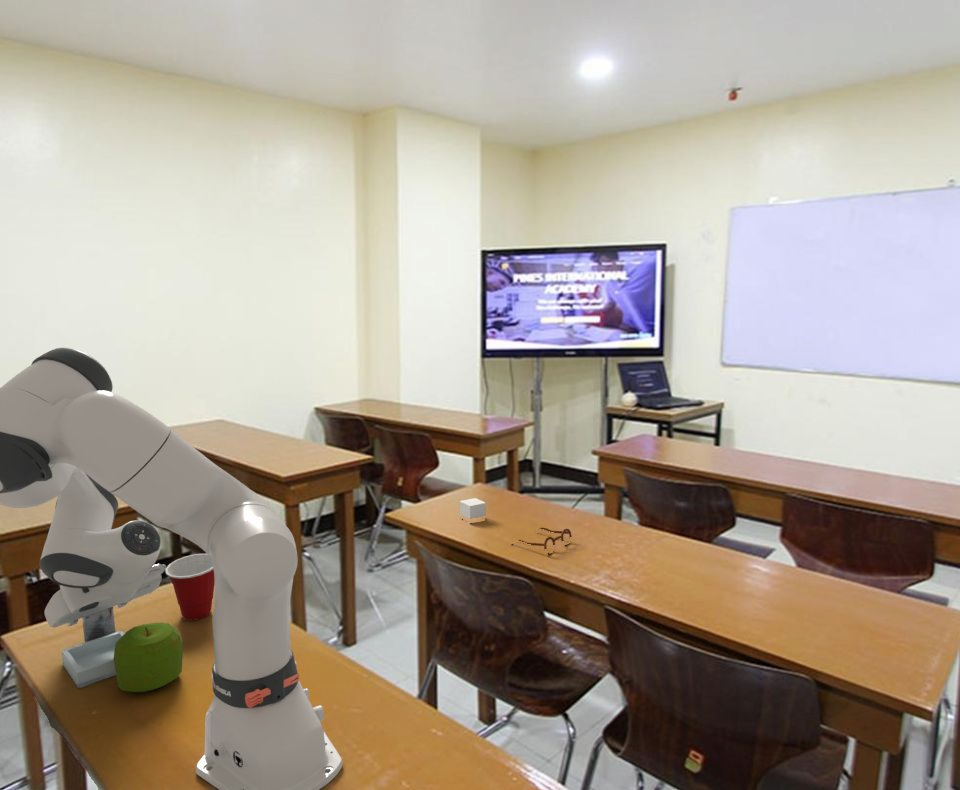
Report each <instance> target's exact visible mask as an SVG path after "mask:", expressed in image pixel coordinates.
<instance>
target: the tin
mask: <svg viewBox="0 0 960 790" xmlns="http://www.w3.org/2000/svg"><path fill="white" fill-rule="evenodd" d="M114 612H115V611H114V606H113V607H110V608H108V609H105V610H102V611H99V612H97V613H94V614H91V615H88V616H85V617H83V618H81V619H82V628H83V637H84V643H85V642H88V641H91V640H94V639H97V638H100V637H104V636H107V635H110V634H113V633H116V631H117V630H116V621H115V613H114Z"/></svg>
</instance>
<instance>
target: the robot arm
mask: <svg viewBox="0 0 960 790" xmlns="http://www.w3.org/2000/svg"><path fill="white" fill-rule="evenodd" d="M113 388H114V387H113V381H112V379H111V376H110V374H109V373H108V371H107V369H106V367H104V366H103V365H102V363H100V362H99V361H98V360H97V359H95V357H92V356H91V355H90V354H87V353H85V352H83V351H81V350H78V349H75V348H68V347H56V348H54V349H52V350H49V351H47V352H45V353H43V354H42V355H40V356H38V357H36V358H35V359H34V360H33V361H32V362H31V365H28V367H27V366H26V368H24V369H23V370H21V371H20V372H19V373H17V374H16V375H14V376H13V377H12V378H11V379H9V380H8V381H7V382H6V383H4V384H3V385H2V386H1V387H0V505H1V506H3V507H7V508H12V509H13V508H15V509H27V508H32V507H38V506H40V505H43V504H45V503H48V502H50V501H52V500H53V499H55V498H57V499H56V503H55V508H54V513H53V515H52V516H53V517H52V519H51V522H50V527H49V530H48V534H47V537H46V539H45V542H44V545H43V549H42V552H41V556H40V559H39V563H38V566H39V568H40V570H41V571H42V573H43V574H44V575H45V577H47V578H48V579H50V580H51V581H52V582H54V583H55V584H57V585H59V588H60V589H59V590H58V591H56V592H55V593H54V594H53V595H52V597H51V598H50V600H49V601H48V603H47V605H46V606H45V609H44V617H45V619H46V622H47V623H48V626H49V627H50V628H58V627H61V626H63V625H67V627H72V626H75V625H77V624H78V622H79V619H82V618H83V617H85V616H88V615H91V614H94V613H97V612H99V611H102V610H105V609H108V608H110V607H113V608H114V607H115V606H116V607H117V609H120V608H124V607H126V606H127V604H128V603H129V602H131V601H133V600H134V599H138V598H140V597H144V596H146V595H149V594H151V593H153V592H155V591H156V590H157V589H158V588H159V587H160V584H161V582H162V579H163V578H162V574H163V573H164V572H166V570H165V569H166V568H167V565H166V564H161V563H157V564H156V562H157V560H158V557H159V555H160V552H161V549H162V538H161V537H160V534H159V532H158V530H157V528H155V527H154V526H153V525H152V524H151V523H153V524H154V525H156V526H157V527H159V528H164V529H167V530H169V531H171V532H173V533H175V534H177V535H179V536H180V537H183V538H185V539H186V540H189V541H190V542H192V543H193V544H195V545H196V546H198V547H199V548H200V549H202V550H203V552H205V554H208V556H209V557H210V558H211V561H212V565H213V569H214V579H215V584H214V594H213V600H214V601H213V614H212V617H211V618H212V619H211V620H212V621H211V622H212V624H211V625H212V639H213V641H212V642H213V655H214V663H213V664H212V668H211V669H212V670H211V671H212V672H211V685H212V691H213V694H214V696H213V698H212V701H211V703H210V705H209V707H208V709H207V711H206V714H205V717H204V754H203V755H202V757H201V758H200V759H199V761H197V762H196V767H195V773H196V775H197V776H198V777H201V778H202V779H203V780H205V781H206V782H207V783H209V784H211V786H213V787H215V788H216V789H218V790H320V789H322V788H323V787H325V786H326V785H327V784H329V783H330V782H331V781H332V780H333V779H334V778H335V777H336V776H337V775H338V774H339V772H340V771H341V770H342V768H343V765H344V763H343V758H342V757H341V755H340V754H339V752H338V750H337V749H336V747H335V746H334V744H333V743H332V741H331V739H330V738H329V737H328V735H327V734H326V732H325V730H324V729H323V726H322V723H321V722H323V721H324V720H325V711H324V710H325V709H324V707H323V706H322V705H321V704H319V705H316V706H314V707H313V705H312V703H311V701H310V699H309V697H310V691H309V688H307V687H306V688H303V686H302V683H301V682H300V678H299V677H300V674H299V671H298V668H297V667H298V666H297V660H296V659H295V655H294V652H293V650H292V649H291V625H290V623H291V622H290V605H291V597H292V590H293V583H294V576H295V575H296V572H297V568H298V561H299V559H298V552H297V544H296V541H295V538H294V535H293V533H292V532H291V530H290V528H288V526H287V524H286V523H285V522H284V521H283V519H282V518H281V517H280V516H279V515H278V514H277V512H276V511H275V510H274V509H273V508H272V506H271V505H270V504H269V502H267V501H266V500H265V499H264V498H262V497H261V496H260V495H259V494H257V493H256V492H255V491H254V490H252V489H250V488H249V487H248V486H247V485H245V483H243V482H241V481H240V480H238V479H237V478H236V477H234V476H232V475H231V474H230V473H229V472H227V471H225V470H224V469H222V468H221V467H220V466H218V465H217V464H215V463H214V462H213V461H211V459H209V458H208V457H206V456H205V455H204V454H203V453H202V452H200V451H199V450H198V449H196V448H195V447H194V446H193V445H192V444H190V443H189V442H188V441H186V440H185V439H184V438H183V437H181V436H180V435H179V434H177V433H176V431H174V430H173V429H171V428H170V427H169V426H168V425H166V424H165V423H164V422H162V421H161V420H160V419H159V418H157V417H155V416H154V415H153V414H151V413H150V412H148V411H147V410H145V409H144V408H142V407H140V406H139V405H137V404H135V403H133V402H131V401H130V400H128V399H126V398H124V397H123V396H120V395H118V394H117V393H115V392H113ZM117 498H118V499H119V500H120V501H121V502H123V503H124V504H126V505H127V506H129V507H130V508H131V509H133V510H135V512H137V513H138V514H140V515H141V516H143V518H144V517H145V518H146V519H147V520H149V521H150V522H151V523H149V522H147V521H144V520H137V519H136V520H131V521H128V522H126V523H124V524H123V525H121V526H119V527H116V528H113V524H114V521H115V518H116V514H117V512H118V509H119V501H118V499H117ZM112 528H113V529H112Z"/></svg>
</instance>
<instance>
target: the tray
mask: <svg viewBox="0 0 960 790" xmlns="http://www.w3.org/2000/svg"><path fill="white" fill-rule="evenodd" d="M125 633H126V632H125V631H124V630H123V629H122V630H120V631H117V632H116V633H113V634H110V635H107V636H104V637H100V638H97V639H94V640H91V641H88V642H85V641H84V642H83V643H80V644H76V645H73V646H70V647H67V648H65V649H62V650H61V658H62V666H63V667H64V669H65V670H66V671H67V673H68V675H69V677H70V678H71V679H72V681H73V682H74V684H75V686H77V688H78V689H81V688H84V687H86V686H90V685H92V684H94V683H98V682H100V681H103V680H106V679H108V678H112V677H114V676H116V670H115V664H114V659H113V658H114V649H115V645H116V642H117V641H118V640H119V639H120V638H121V637H122V636H123V635H124V634H125Z"/></svg>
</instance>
